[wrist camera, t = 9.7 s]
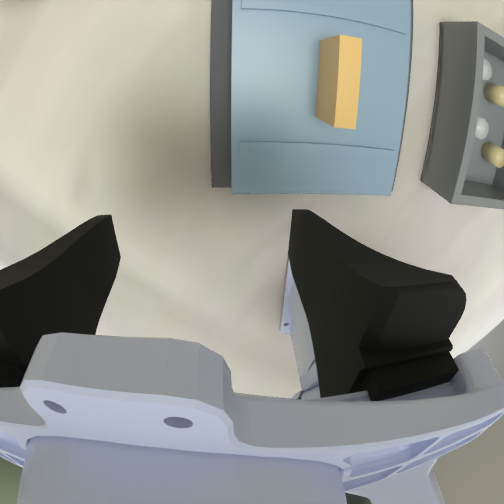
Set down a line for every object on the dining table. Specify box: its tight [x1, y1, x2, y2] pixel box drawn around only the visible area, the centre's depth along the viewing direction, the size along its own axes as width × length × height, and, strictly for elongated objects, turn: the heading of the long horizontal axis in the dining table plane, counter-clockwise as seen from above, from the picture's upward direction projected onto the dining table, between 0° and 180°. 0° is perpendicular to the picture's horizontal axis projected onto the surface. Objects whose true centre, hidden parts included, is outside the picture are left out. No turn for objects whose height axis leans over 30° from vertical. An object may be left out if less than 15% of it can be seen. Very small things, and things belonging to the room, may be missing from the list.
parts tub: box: [421, 22, 504, 209], centre depth 17 cm, size 14×10×4 cm
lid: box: [231, 0, 411, 196], centre depth 15 cm, size 15×11×5 cm
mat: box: [210, 0, 413, 191], centre depth 17 cm, size 16×14×1 cm
